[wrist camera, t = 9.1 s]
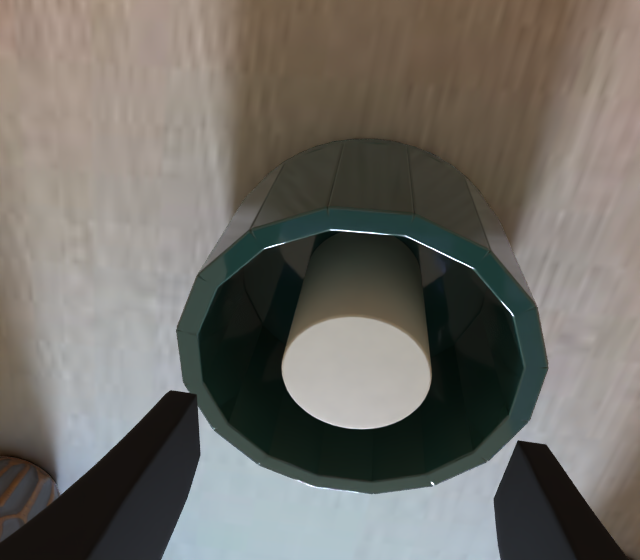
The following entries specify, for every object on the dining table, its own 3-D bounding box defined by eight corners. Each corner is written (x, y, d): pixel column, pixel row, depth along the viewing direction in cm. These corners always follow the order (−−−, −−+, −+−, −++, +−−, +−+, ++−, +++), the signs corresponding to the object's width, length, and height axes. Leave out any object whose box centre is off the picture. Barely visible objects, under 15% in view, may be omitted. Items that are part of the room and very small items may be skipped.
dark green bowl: (565, 220, 17) (634, 320, 12) (412, 407, 21) (419, 529, 17) (293, 82, 15) (251, 133, 11) (197, 314, 20) (140, 419, 16)
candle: (443, 259, 17) (462, 355, 13) (386, 342, 19) (385, 448, 15) (336, 207, 17) (318, 290, 12) (288, 298, 19) (259, 396, 14)
